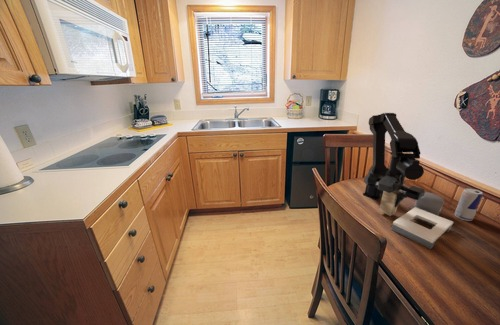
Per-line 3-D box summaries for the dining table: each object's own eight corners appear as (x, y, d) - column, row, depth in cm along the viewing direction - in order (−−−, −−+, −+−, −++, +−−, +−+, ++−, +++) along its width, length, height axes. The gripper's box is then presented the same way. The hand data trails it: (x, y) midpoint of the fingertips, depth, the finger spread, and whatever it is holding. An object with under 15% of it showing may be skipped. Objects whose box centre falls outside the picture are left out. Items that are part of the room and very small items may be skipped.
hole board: (391, 229, 78) (393, 221, 77) (413, 214, 87) (415, 207, 86) (430, 249, 68) (433, 240, 67) (450, 229, 77) (453, 221, 76)
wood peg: (378, 210, 87) (383, 189, 84) (384, 207, 89) (389, 186, 86) (390, 216, 84) (395, 194, 80) (395, 212, 86) (401, 190, 82)
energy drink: (476, 222, 81) (487, 194, 77) (460, 220, 82) (470, 193, 78) (465, 214, 86) (476, 188, 82) (450, 213, 87) (460, 187, 83)
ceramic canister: (409, 209, 90) (414, 195, 87) (419, 203, 94) (423, 190, 91) (433, 219, 83) (439, 204, 81) (442, 213, 87) (448, 198, 85)
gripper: (362, 166, 83) (356, 200, 89) (416, 182, 69) (405, 222, 74) (377, 160, 89) (370, 193, 94) (430, 175, 74) (419, 212, 79)
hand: (389, 204), depth 85 cm, fingers closed on wood peg, 4 cm apart
